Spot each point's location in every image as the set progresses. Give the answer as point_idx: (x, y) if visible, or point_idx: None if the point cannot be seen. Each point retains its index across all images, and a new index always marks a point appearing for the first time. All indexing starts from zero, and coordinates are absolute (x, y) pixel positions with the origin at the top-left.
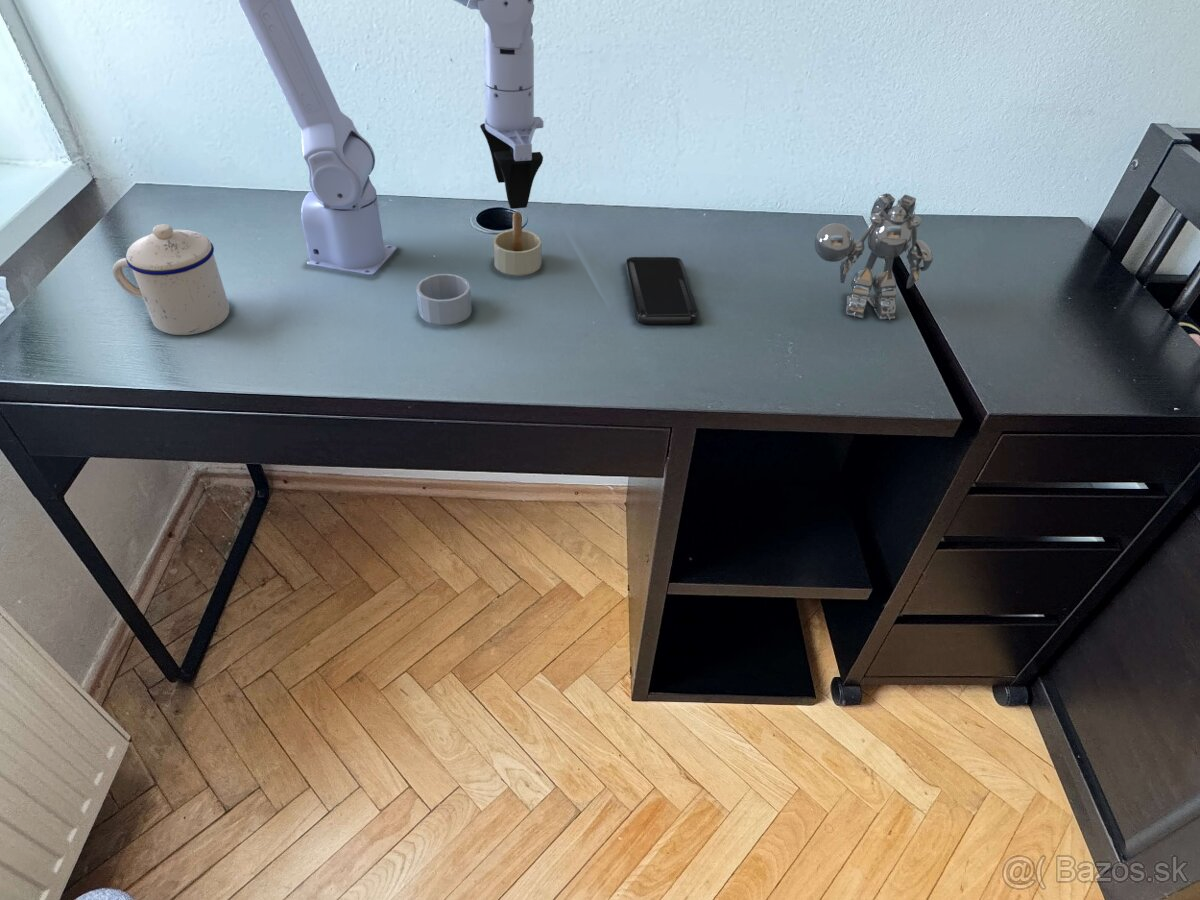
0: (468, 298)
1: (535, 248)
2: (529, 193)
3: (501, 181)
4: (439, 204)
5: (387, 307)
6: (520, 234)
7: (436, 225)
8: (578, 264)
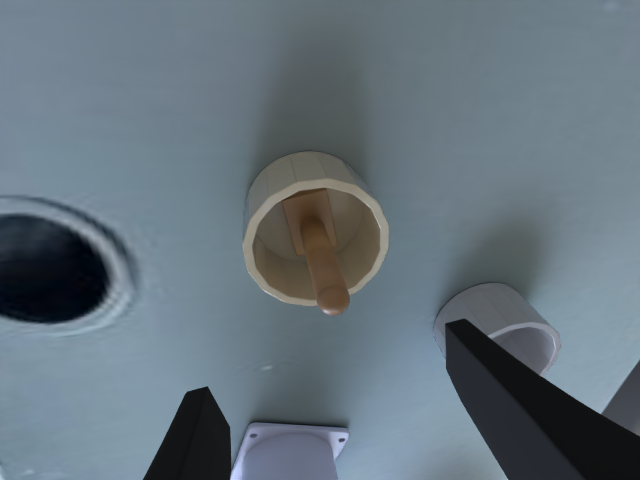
0: (531, 312)
1: (369, 196)
2: (516, 358)
3: (224, 423)
4: (4, 401)
5: (438, 392)
6: (332, 253)
7: (123, 387)
8: (291, 27)
